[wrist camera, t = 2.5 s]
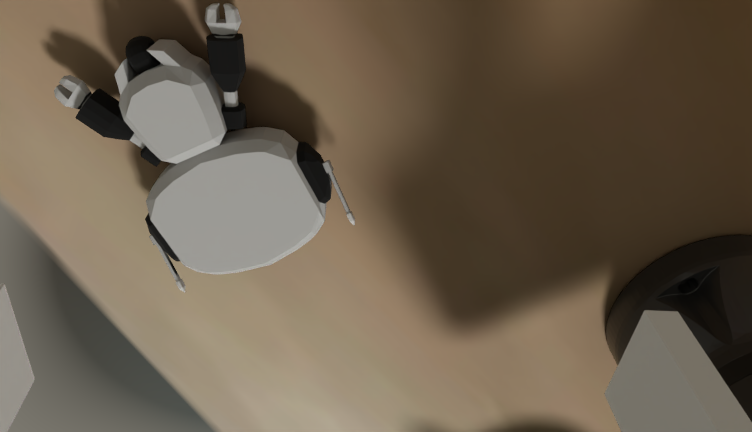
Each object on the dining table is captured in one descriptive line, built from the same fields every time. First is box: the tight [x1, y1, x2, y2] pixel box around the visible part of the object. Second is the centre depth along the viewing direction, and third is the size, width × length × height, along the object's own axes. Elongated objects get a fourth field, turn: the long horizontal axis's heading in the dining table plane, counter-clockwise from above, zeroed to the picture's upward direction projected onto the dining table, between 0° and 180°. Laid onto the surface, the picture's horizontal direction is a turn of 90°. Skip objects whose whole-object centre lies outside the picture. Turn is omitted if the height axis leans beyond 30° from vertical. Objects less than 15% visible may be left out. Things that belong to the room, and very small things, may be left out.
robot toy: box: [54, 3, 355, 292], centre depth 35 cm, size 12×4×15 cm
